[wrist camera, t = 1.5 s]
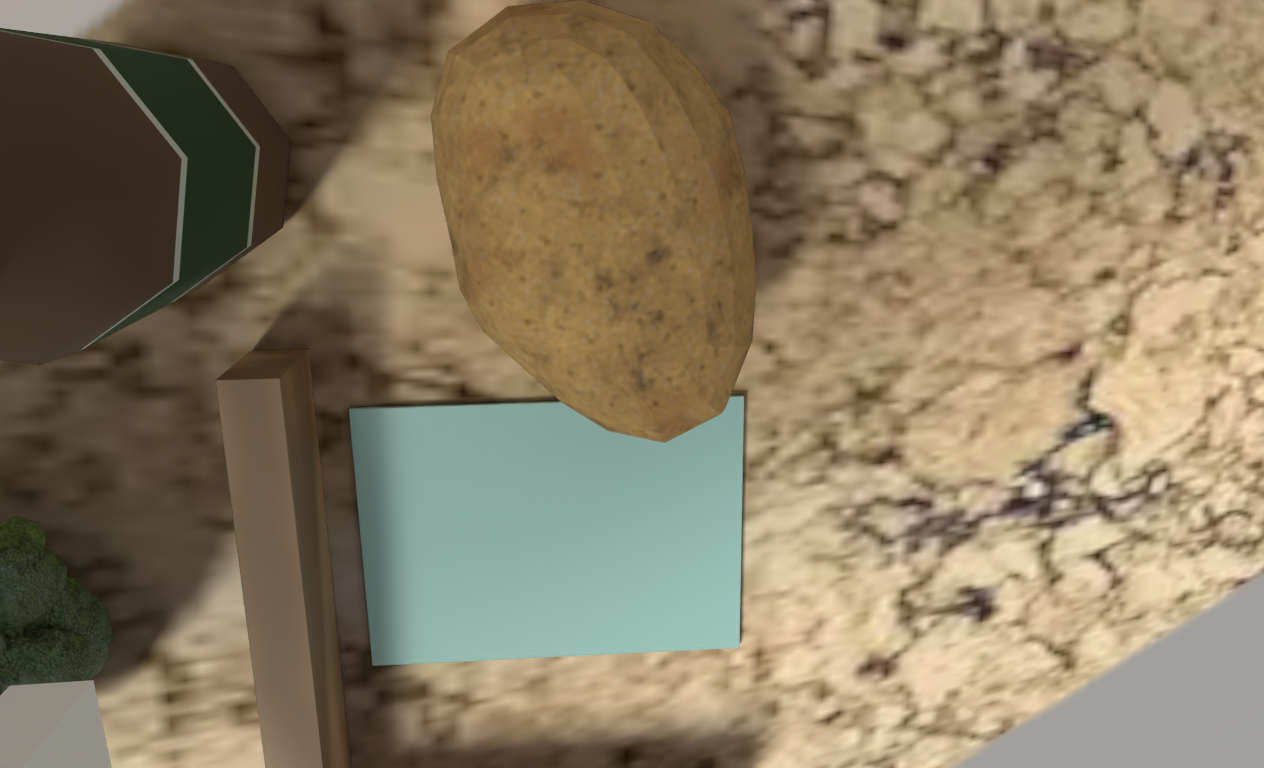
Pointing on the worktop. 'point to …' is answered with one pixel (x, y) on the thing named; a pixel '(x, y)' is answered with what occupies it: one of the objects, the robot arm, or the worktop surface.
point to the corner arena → (284, 557)
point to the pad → (545, 533)
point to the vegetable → (45, 614)
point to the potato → (598, 213)
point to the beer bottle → (122, 185)
